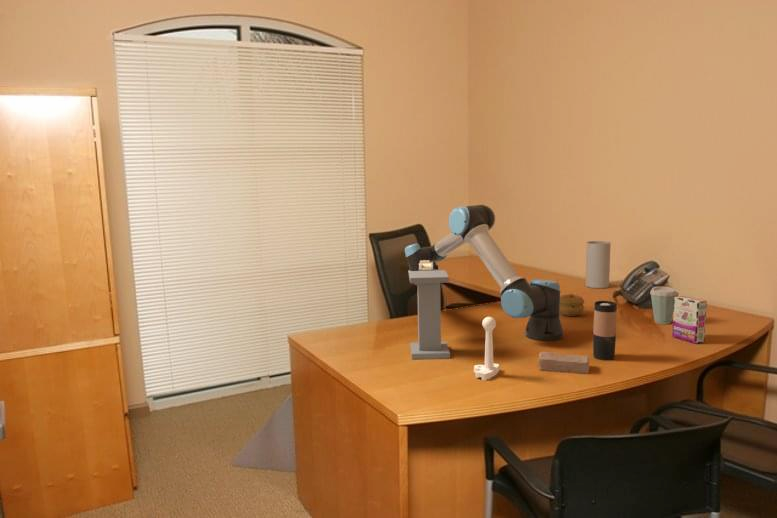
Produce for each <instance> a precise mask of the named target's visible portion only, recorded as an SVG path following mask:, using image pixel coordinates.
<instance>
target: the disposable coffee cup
mask: <svg viewBox="0 0 777 518" xmlns="http://www.w3.org/2000/svg"><path fill="white" fill-rule="evenodd" d="M677 293H678V292H677V291H676V289H675V288H673V287H670V286H662V285H660V286H653V287H652V288H651V290H650V292H649V294H650V299H651V305H652V312H653V321H654V322H655V323H656V324H660V325H669V324H671V322H672V321H673V319H672V318H673V315H674V297H677Z"/></svg>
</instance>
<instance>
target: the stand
mask: <svg viewBox="0 0 777 518" xmlns="http://www.w3.org/2000/svg"><path fill="white" fill-rule="evenodd" d="M408 277H409V278H408V280H409V284H414V283H417V285H416V287H417V331H418V332H417V335H418V337H417V339H418V340H417V341H418V342H417V341H416V342H410V355H411V360H430V359H433V360H435V359H440V360H441V359H442V360H443V359H451V352H450V349H449V346H448V342H447V341H442V333H441V332H442V329H441V328H442V327H441V326H442V323H441V322H442V321H441V316H442V315H441V311H442V310H441V284H442V283H443V284H444V283H450V276H449V275H448V273H447V271H446V270H445V269H442V270H441V269H440V270H439V269H438V270H435V271H409V275H408Z"/></svg>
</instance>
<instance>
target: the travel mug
mask: <svg viewBox="0 0 777 518" xmlns="http://www.w3.org/2000/svg"><path fill="white" fill-rule="evenodd" d="M593 305H594V307H593V308H594V309H593V312H594V313H593V334H592V336H593V337H592V338H593V340H592V342H593V343H592V344H593V345H592V346H593V347H592V349H593V353H592V354H593V358H594V359H596V360H601V361H612V360H614V359H615V354H616V342H617V341H616V340H617V339H616V338H617V310H618V309H617V308H618V304H617V303H616V302H614V301H611V300H597V301H595V302H594V304H593Z"/></svg>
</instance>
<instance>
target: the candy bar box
mask: <svg viewBox="0 0 777 518" xmlns="http://www.w3.org/2000/svg"><path fill="white" fill-rule="evenodd" d="M707 303H708V301H707V300H704V299H700V298H699V299H698V298H694V297H690V296H689V297H688V296H683V295H681V296H676V297H674V309H673V315H672V318H673V319H672V333H671V334H672V338H675V339H679V340H682V341H685V342H689V343H692V344H695V345H696V344H701V343H702V344H703V343H705V339H706V338H705V337H706V336H705V335H706V322H707V321H706V319H707V306H708V304H707Z"/></svg>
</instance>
